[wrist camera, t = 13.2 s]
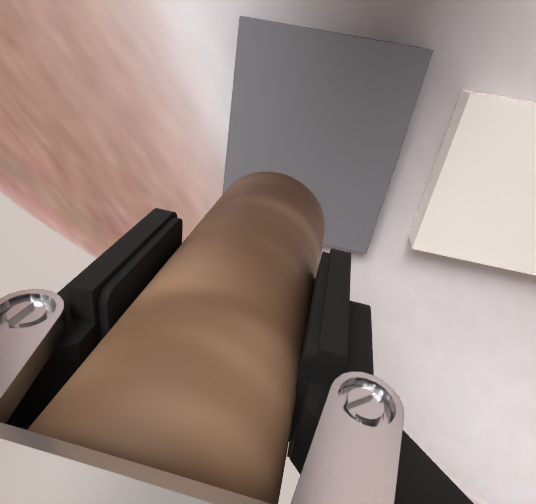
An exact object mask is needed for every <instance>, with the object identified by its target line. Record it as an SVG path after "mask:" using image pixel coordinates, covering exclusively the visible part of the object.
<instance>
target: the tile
mask: <svg viewBox="0 0 536 504" xmlns="http://www.w3.org/2000/svg"><path fill="white" fill-rule="evenodd" d="M409 238H410V243H411V247H412V249H415V250H420V251H424V252H429V253H433V254H438V255H443V256H447V257H452V258H457V259H461V260H466V261H471V262H475V263H480V264H484V265H489V266H494V267H498V268H503V269H508V270H512V271H517V272H522V273H526V274H531V275H535V276H536V102H533V101H527V100H521V99H515V98H510V97H504V96H498V95H492V94H486V93H480V92H474V91H468V90H461V93H460V96H459V99H458V101H457V104H456V107H455V110H454V112H453V115H452V118H451V121H450V123H449V126H448V129H447V132H446V134H445V137H444V140H443V142H442V145H441V148H440V151H439V153H438V156H437V159H436V162H435V164H434V167H433V170H432V173H431V175H430V178H429V181H428V184H427V186H426V189H425V192H424V195H423V197H422V200H421V203H420V205H419V208H418V211H417V214H416V216H415V219H414V222H413V225H412V227H411V230H410V233H409Z"/></svg>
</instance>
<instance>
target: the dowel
mask: <svg viewBox="0 0 536 504" xmlns="http://www.w3.org/2000/svg"><path fill="white" fill-rule="evenodd" d="M324 232H325V219H324V214H323V211H322V208H321V206H320V203H319V202H318V200H317V198H316V197H315V196H314V194H313V193H312V192H311V191H310V190H309V189H308V188H307V187H306V186H305V185H304V184H302V183H301V182H300V181H298V180H296V179H294V178H292V177H290V176H288V175H285V174H281V173H277V172H256V173H252V174H249V175H246V176H244V177H242V178H240V179H238V180H237V181H235V182H234V183H233V184H232V185H231V186H230V187H229V188H228V189H227V190H226V191H225V193H224V194H223V195H222V196H221V197H220V199H219V200H218V201H217V202H216V203H215V205H214V206H213V207H212V208H211V209H210V211H209V212H208V213H207V214H206V215H205V217H204V218H203V219H202V220H201V221H200V223H199V224H198V225H197V226H196V227H195V229H194V230H193V231H192V232H191V233H190V235H189V236H188V237H187V238H186V239H185V241H184V242H183V243H182V244H181V245H180V247H179V248H178V249H177V250H176V251H175V253H174V254H173V255H172V256H171V257H170V259H169V260H168V261H167V262H166V263H165V265H164V266H163V267H162V268H161V270H160V271H159V272H158V273H157V274H156V276H155V277H154V278H153V279H152V280H151V282H150V283H149V284H148V285H147V286H146V288H145V289H144V290H143V291H142V292H141V294H140V295H139V296H138V297H137V298H136V300H135V301H134V302H133V303H132V304H131V306H130V307H129V308H128V309H127V310H126V312H125V313H124V314H123V315H122V316H121V318H120V319H119V320H118V321H117V322H116V324H115V325H114V326H113V327H112V328H111V330H110V331H109V332H108V333H107V334H106V336H105V337H104V338H103V339H102V340H101V342H100V343H99V344H98V345H97V346H96V348H95V349H94V350H93V351H92V352H91V354H90V355H89V356H88V357H87V359H86V360H85V361H84V362H83V363H82V365H81V366H80V367H79V368H78V369H77V371H76V372H75V373H74V374H73V375H72V377H71V378H70V379H69V380H68V381H67V383H66V384H65V385H64V386H63V387H62V389H61V390H60V391H59V392H58V393H57V395H56V396H55V397H54V398H53V399H52V401H51V402H50V403H49V404H48V405H47V407H46V408H45V409H44V410H43V411H42V413H41V414H40V415H39V416H38V417H37V419H36V420H35V421H34V422H33V423H32V425H31V426H30V427H29V428H28V429H27V430H28V431H31V432H35V433H38V434H42V435H45V436H48V437H52V438H55V439H58V440H62V441H65V442H68V443H72V444H75V445H78V446H82V447H85V448H88V449H92V450H95V451H99V452H102V453H105V454H109V455H112V456H115V457H119V458H122V459H125V460H129V461H132V462H135V463H139V464H142V465H145V466H149V467H152V468H155V469H159V470H162V471H165V472H169V473H172V474H175V475H178V476H182V477H185V478H188V479H192V480H195V481H198V482H201V483H205V484H208V485H211V486H215V487H218V488H221V489H224V490H228V491H231V492H234V493H237V494H241V495H244V496H247V497H251V498H254V499H257V500H260V501H264V502H267V503H270V504H278V501H279V495H280V489H281V483H282V477H283V472H284V466H285V460H286V454H287V448H288V442H289V437H290V431H291V425H292V419H293V413H294V407H295V402H296V384H297V379H298V373H299V367H300V362H301V356H302V350H303V345H304V339H305V334H306V328H307V322H308V317H309V311H310V305H311V300H312V294H313V289H314V283H315V278H316V274H317V271H318V267H319V262H320V256H321V250H322V244H323V238H324Z"/></svg>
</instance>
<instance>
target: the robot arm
mask: <svg viewBox="0 0 536 504" xmlns="http://www.w3.org/2000/svg"><path fill="white" fill-rule="evenodd" d="M181 244H182V219H179V218H177V214H176V213H175V212H171V211H167V210H162V209H158V208H155V209H154V210H152V211H151V212H150V213H149V214H148V215H147V216H146V217H144V218H143V219H142V220H141V221H140V222H139V223H138V224H136V225H135V226H134V227H133V228H132V229H131V230H129V231H128V232H127V233H126V234H125V235H124V236H123V237H121V238H120V239H119V240H118V241H117V242H116V243H115V244H113V245H112V246H111V247H110V248H109V249H108V250H106V251H105V252H104V253H103V254H102V255H101V256H99V257H98V258H97V259H96V260H95V261H94V262H93V263H91V264H90V265H89V266H88V267H87V268H86V269H85V270H83V271H82V272H81V273H80V274H79V275H78V276H77V277H75V278H74V279H73V280H72V281H71V282H70V283H68V284H67V285H66V286H65V287H64V288H63V289H62V290H60V291H59V292H58V293H57V294H56V293H54V292H52V291H48V290H43V289H42V290H41V289H30V290H22V291H18V292H15V293H11V294H9V295H6V296H5V297H2V298H0V504H270V503H267V502H264V501H260V500H257V499H254V498H251V497H247V496H244V495H241V494H237V493H234V492H231V491H228V490H224V489H221V488H218V487H215V486H211V485H208V484H205V483H201V482H198V481H195V480H192V479H188V478H185V477H182V476H178V475H175V474H172V473H169V472H165V471H162V470H159V469H155V468H152V467H149V466H145V465H142V464H139V463H135V462H132V461H129V460H125V459H122V458H119V457H115V456H112V455H109V454H105V453H102V452H99V451H95V450H92V449H88V448H85V447H82V446H78V445H75V444H72V443H68V442H65V441H62V440H58V439H55V438H52V437H48V436H45V435H42V434H38V433H35V432H31V431H28V430H27V429H28V428H29V427H30V426H31V425H32V423H33V422H34V421H35V420H36V419H37V417H38V416H39V415H40V414H41V413H42V411H43V410H44V409H45V408H46V407H47V405H48V404H49V403H50V402H51V401H52V399H53V398H54V397H55V396H56V395H57V393H58V392H59V391H60V390H61V389H62V387H63V386H64V385H65V384H66V383H67V381H68V380H69V379H70V378H71V377H72V375H73V374H74V373H75V372H76V371H77V369H78V368H79V367H80V366H81V365H82V363H83V362H84V361H85V360H86V359H87V357H88V356H89V355H90V354H91V352H92V351H93V350H94V349H95V348H96V346H97V345H98V344H99V343H100V342H101V340H102V339H103V338H104V337H105V336H106V334H107V333H108V332H109V331H110V330H111V328H112V327H113V326H114V325H115V324H116V322H117V321H118V320H119V319H120V318H121V316H122V315H123V314H124V313H125V312H126V310H127V309H128V308H129V307H130V306H131V304H132V303H133V302H134V301H135V300H136V298H137V297H138V296H139V295H140V294H141V292H142V291H143V290H144V289H145V288H146V286H147V285H148V284H149V283H150V282H151V280H152V279H153V278H154V277H155V276H156V274H157V273H158V272H159V271H160V270H161V268H162V267H163V266H164V265H165V263H166V262H167V261H168V260H169V259H170V257H171V256H172V255H173V254H174V253H175V251H176V250H177V249H178V248H179V247H180V245H181ZM350 273H351V253H349V252H344V251H340V250H336V249H331V251H330V253H326V252H322V255H321V259H320V263H319V267H318V271H317V274H316V278H315V283H314V289H313V294H312V300H311V305H310V311H309V317H308V322H307V328H306V334H305V339H304V345H303V350H302V356H301V362H300V367H299V373H298V379H297V384H296V402H295V407H294V413H293V419H292V425H291V431H290V437H289V447H288V454H287V457H290V460H291V462H292V463H293V465H294V466H295V467H296V469H297V470H298V472H299V473H300V478H299V481H298V484H297V487H296V490H295V493H294V496H293V498H292V502H291V504H473V502H472V501H471V500H470V499H469V498H468V497H467V496H466V495H465V494H464V493H463V492H462V491H461V490H460V489H459V488H458V487H457V486H456V485H455V484H454V483H453V482H452V481H451V480H450V478H449V477H448V476H447V475H446V474H445V473H444V472H443V471H442V470H441V469H440V468H439V467H438V466H437V465H436V464H435V463H434V462H433V461H432V460H431V459H430V458H429V457H428V456H427V455H426V453H425V452H424V451H423V450H422V449H421V448H420V447H419V446H418V445H417V444H416V443H415V442H414V441H413V440H412V439H411V438H410V437H409V436H408V435H407V434H406V433H405V432H404V431H403V421H404V409H403V405H402V402H401V400H400V398H399V396H398V395H397V394H396V392H395V391H394V390H393V389H392V388H391V387H390V386H389V385H388V384H387V383H385V382H384V381H383V380H381V379H379V378H377V377H375V376H374V374H373V350H372V325H371V308H370V306H369V305H365V304H361V303H357V302H353V301H349V300H350Z"/></svg>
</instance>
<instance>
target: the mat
mask: <svg viewBox="0 0 536 504" xmlns="http://www.w3.org/2000/svg"><path fill="white" fill-rule="evenodd" d="M432 52H433V50H430V49H424V48H419V47H413V46H407V45H402V44H396V43H390V42H385V41H379V40H374V39H368V38H362V37H357V36H351V35H345V34H340V33H334V32H328V31H323V30H317V29H311V28H306V27H300V26H294V25H289V24H283V23H278V22H272V21H266V20H261V19H255V18H249V17H243V16H240V18H239V29H238V39H237V49H236V60H235V70H234V81H233V91H232V102H231V112H230V123H229V133H228V143H227V154H226V164H225V175H224V185H223V194H224V193H225V191H226V190H227V189H228V188H229V187H230V186H231V185H232V184H233V183H234V182H235V181H237V180H238V179H240V178H242V177H244V176H246V175H249V174H252V173H256V172H277V173H281V174H285V175H288V176H290V177H292V178H294V179H296V180H298V181H300V182H301V183H302V184H304V185H305V186H306V187H307V188H308V189H309V190H310V191H311V192H312V193H313V194H314V196H315V197H316V198H317V200H318V202H319V203H320V206H321V208H322V211H323V214H324V219H325V232H324V238H323V244H325V245H330V246H334V247H338V248H342V249H347V250H351V251H355V252H359V253H364V254H366V253H367V250H368V247H369V244H370V241H371V238H372V235H373V232H374V229H375V226H376V223H377V220H378V217H379V214H380V211H381V207H382V204H383V201H384V198H385V195H386V192H387V189H388V186H389V183H390V180H391V177H392V174H393V171H394V168H395V165H396V162H397V159H398V156H399V153H400V150H401V147H402V144H403V141H404V138H405V134H406V131H407V128H408V125H409V122H410V119H411V116H412V113H413V110H414V107H415V104H416V101H417V98H418V95H419V92H420V89H421V86H422V83H423V80H424V77H425V74H426V71H427V68H428V65H429V61H430V58H431V55H432Z"/></svg>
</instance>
